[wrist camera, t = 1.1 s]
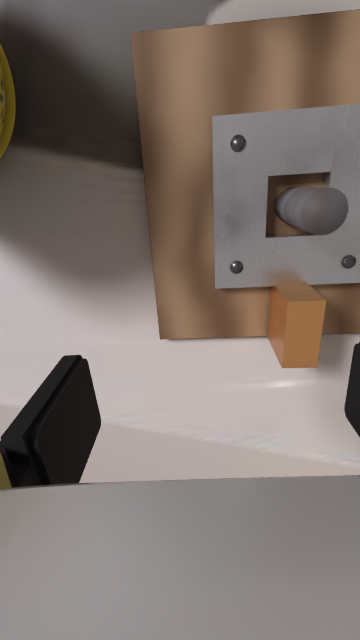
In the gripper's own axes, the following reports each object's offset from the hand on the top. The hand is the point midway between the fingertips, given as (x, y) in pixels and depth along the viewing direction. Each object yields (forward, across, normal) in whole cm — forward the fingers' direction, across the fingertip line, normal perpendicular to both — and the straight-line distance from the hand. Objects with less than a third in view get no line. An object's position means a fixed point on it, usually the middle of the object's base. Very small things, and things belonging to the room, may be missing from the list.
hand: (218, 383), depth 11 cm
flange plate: (+20, -8, -1) cm, 22 cm away
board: (+22, -8, -4) cm, 24 cm away
